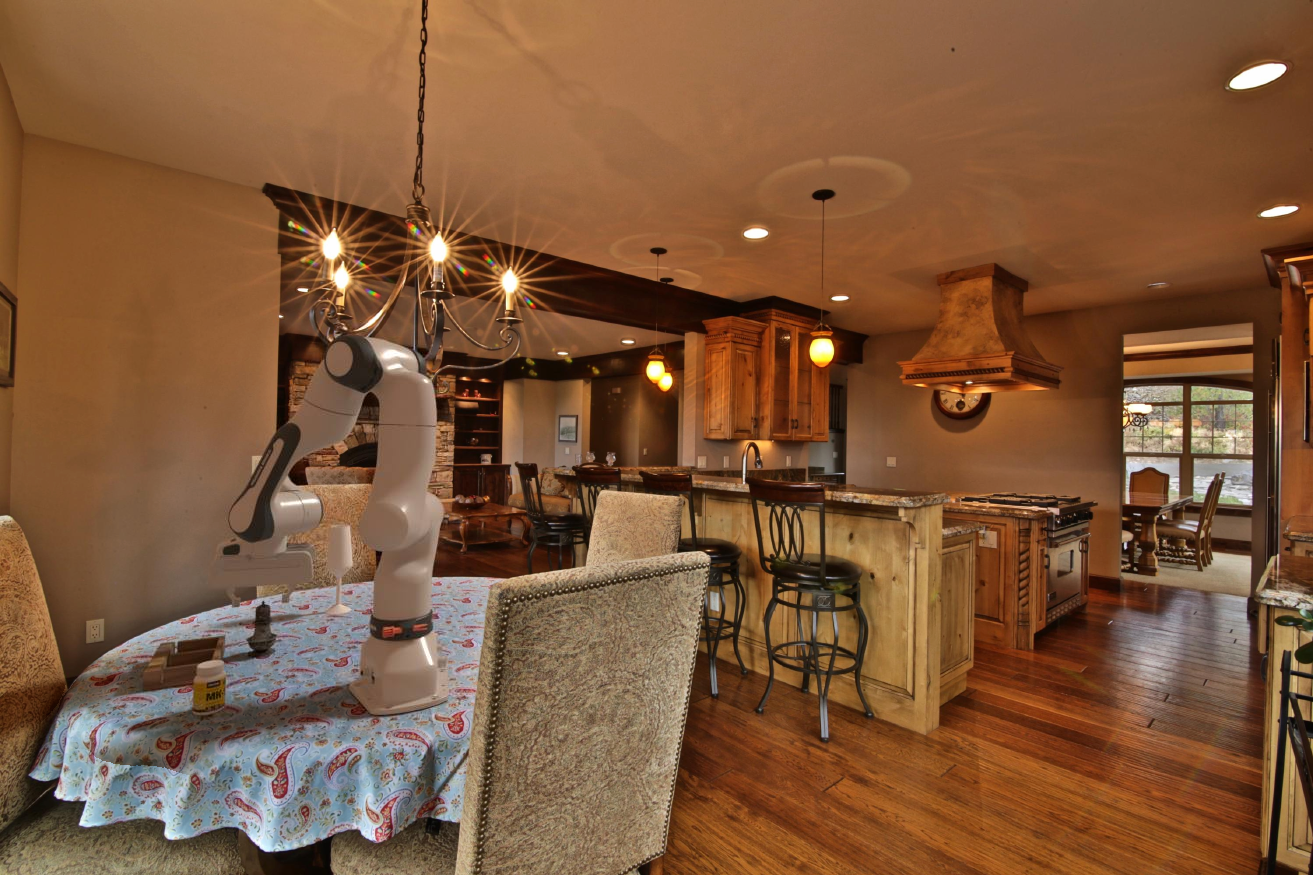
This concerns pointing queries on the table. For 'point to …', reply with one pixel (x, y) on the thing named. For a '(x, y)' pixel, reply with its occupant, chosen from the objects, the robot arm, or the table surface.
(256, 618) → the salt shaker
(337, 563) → the champagne flute
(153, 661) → the divided sorting tray
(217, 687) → the supplement bottle
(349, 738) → the table surface
